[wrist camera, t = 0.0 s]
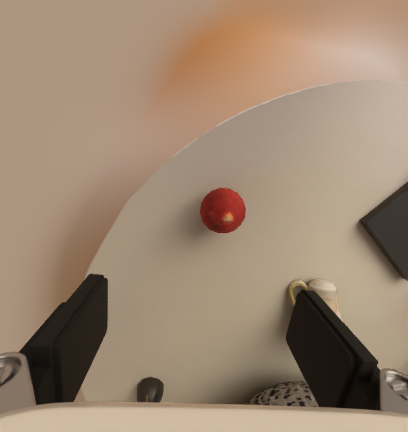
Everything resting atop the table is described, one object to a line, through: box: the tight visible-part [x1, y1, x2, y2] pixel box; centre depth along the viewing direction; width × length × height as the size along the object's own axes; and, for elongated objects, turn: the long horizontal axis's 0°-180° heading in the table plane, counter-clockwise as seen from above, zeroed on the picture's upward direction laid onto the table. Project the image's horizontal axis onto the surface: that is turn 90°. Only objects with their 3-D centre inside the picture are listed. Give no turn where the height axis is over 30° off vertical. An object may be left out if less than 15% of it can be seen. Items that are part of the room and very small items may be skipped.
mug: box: [288, 279, 343, 322], centre depth 35 cm, size 8×10×10 cm
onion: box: [200, 188, 246, 233], centre depth 28 cm, size 6×6×8 cm
